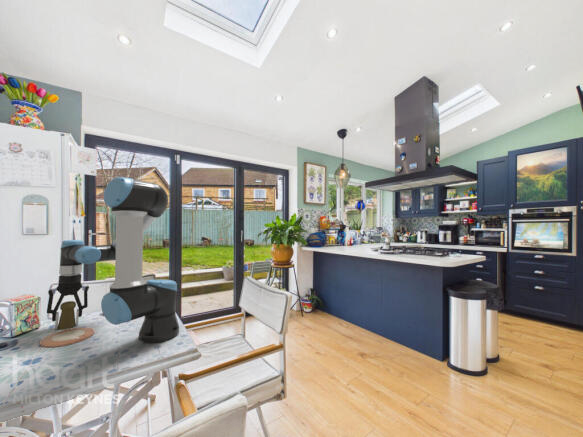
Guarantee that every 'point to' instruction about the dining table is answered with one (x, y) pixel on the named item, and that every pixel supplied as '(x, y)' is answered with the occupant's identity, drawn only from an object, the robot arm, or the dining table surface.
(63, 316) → the cork
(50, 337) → the dish
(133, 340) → the dining table surface
